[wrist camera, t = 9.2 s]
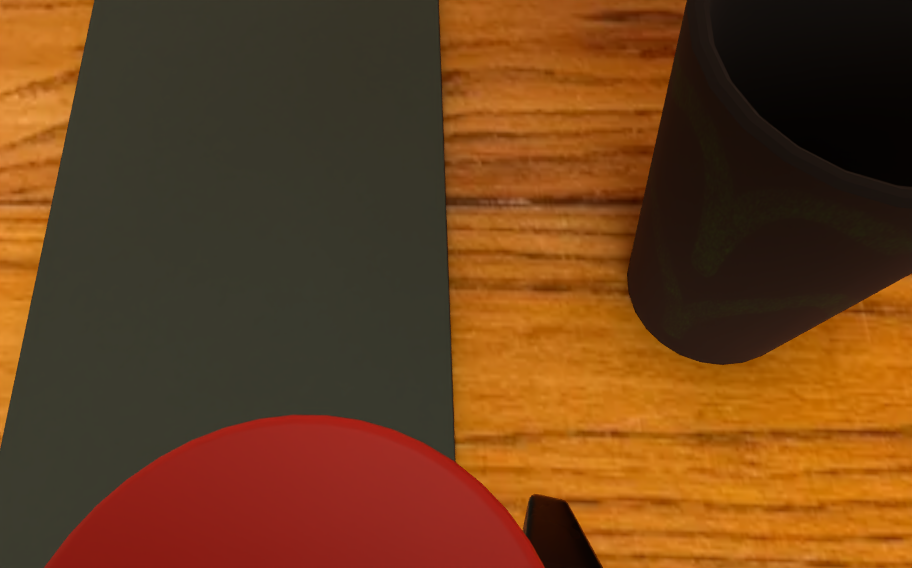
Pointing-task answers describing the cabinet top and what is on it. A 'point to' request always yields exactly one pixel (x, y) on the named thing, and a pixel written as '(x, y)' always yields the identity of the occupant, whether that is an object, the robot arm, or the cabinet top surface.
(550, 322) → the cabinet top surface
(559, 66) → the cabinet top surface
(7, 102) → the cabinet top surface
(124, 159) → the mat
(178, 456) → the marker
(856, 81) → the cup
